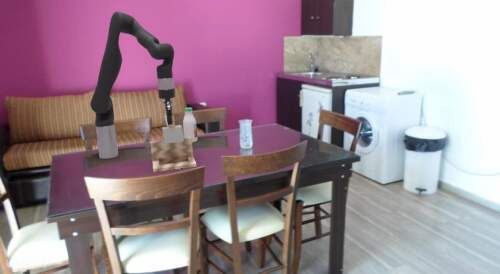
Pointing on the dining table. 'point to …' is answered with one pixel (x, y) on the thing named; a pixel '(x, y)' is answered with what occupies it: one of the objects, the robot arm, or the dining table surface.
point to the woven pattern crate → (172, 155)
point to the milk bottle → (189, 125)
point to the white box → (173, 133)
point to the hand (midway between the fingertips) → (170, 123)
